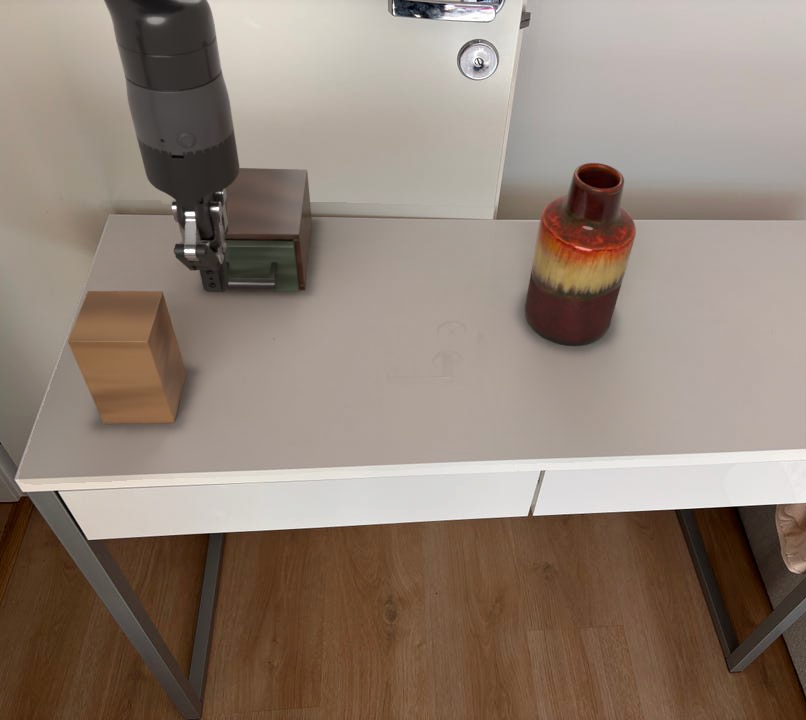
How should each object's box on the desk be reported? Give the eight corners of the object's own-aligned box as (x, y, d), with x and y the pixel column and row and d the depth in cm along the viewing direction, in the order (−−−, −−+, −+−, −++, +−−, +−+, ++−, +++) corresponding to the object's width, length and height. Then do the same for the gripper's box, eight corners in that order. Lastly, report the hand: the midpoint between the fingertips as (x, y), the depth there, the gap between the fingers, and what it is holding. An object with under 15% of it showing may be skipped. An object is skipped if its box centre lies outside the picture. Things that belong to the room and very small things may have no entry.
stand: (174, 423, 78) (147, 341, 70) (103, 424, 77) (67, 341, 69) (186, 373, 83) (162, 291, 74) (119, 373, 82) (87, 290, 73)
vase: (521, 340, 91) (546, 198, 76) (527, 282, 98) (550, 143, 84) (610, 352, 91) (652, 212, 76) (609, 293, 98) (647, 155, 84)
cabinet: (305, 290, 94) (299, 234, 88) (208, 289, 92) (195, 232, 86) (312, 224, 103) (307, 169, 97) (224, 222, 102) (213, 167, 95)
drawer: (296, 314, 89) (290, 270, 85) (205, 314, 88) (194, 269, 83) (306, 228, 101) (301, 185, 96) (225, 227, 100) (216, 183, 95)
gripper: (152, 83, 65) (188, 244, 77) (115, 167, 56) (163, 334, 68) (242, 87, 66) (263, 246, 78) (220, 170, 57) (248, 335, 69)
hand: (217, 287), depth 73 cm, fingers closed
